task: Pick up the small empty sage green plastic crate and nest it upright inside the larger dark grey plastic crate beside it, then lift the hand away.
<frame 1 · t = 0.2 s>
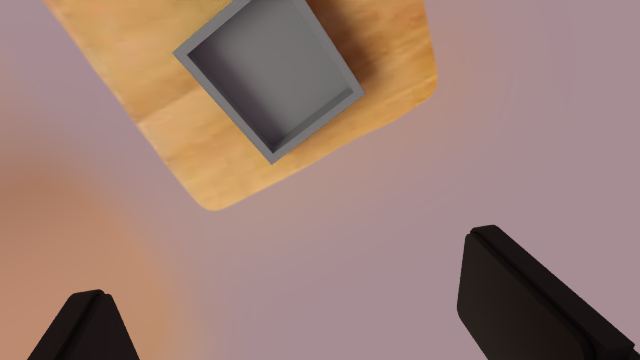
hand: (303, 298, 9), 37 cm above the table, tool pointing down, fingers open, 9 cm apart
big crate: (273, 69, 42), on the table
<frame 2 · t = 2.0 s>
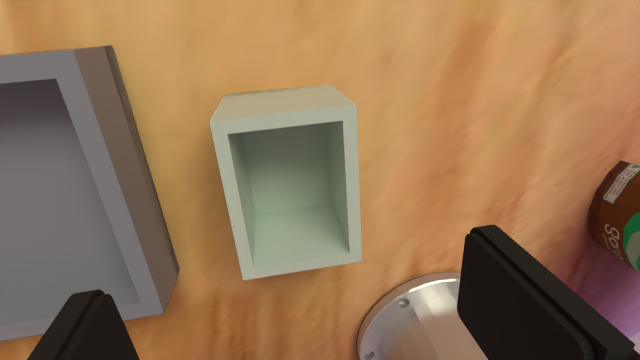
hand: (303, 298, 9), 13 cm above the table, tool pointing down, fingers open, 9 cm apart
food container: (612, 221, 28), on the table
big crate: (2, 191, 20), on the table
small crate: (286, 156, 21), on the table
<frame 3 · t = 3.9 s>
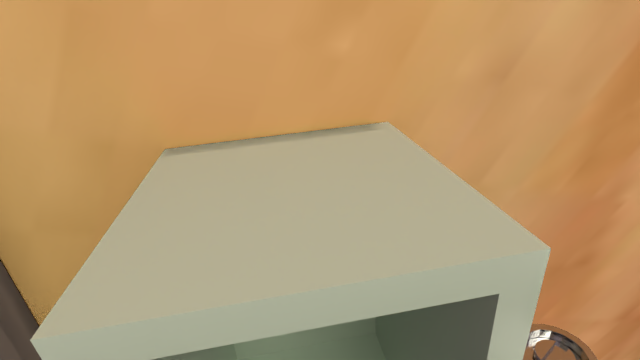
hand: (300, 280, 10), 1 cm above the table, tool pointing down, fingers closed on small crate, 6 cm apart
small crate: (296, 255, 11), on the table, touching gripper
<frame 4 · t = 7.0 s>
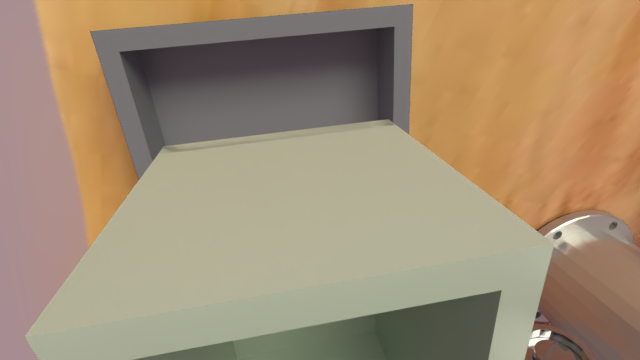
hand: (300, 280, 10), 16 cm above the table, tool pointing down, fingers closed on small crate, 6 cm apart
big crate: (274, 129, 24), on the table
small crate: (295, 253, 11), point 14 cm above the table, touching gripper
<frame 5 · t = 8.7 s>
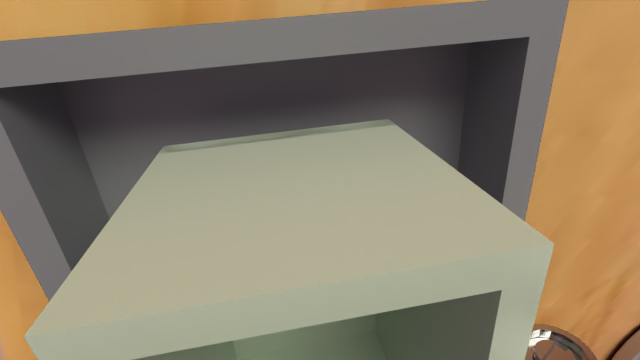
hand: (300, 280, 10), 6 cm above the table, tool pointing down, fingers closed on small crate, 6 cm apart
big crate: (292, 196, 15), on the table
small crate: (295, 253, 11), point 4 cm above the table, touching gripper
when the fingers open (3 cm above the table, at t = 10.0 s): small crate drops 1 cm, resting on big crate.
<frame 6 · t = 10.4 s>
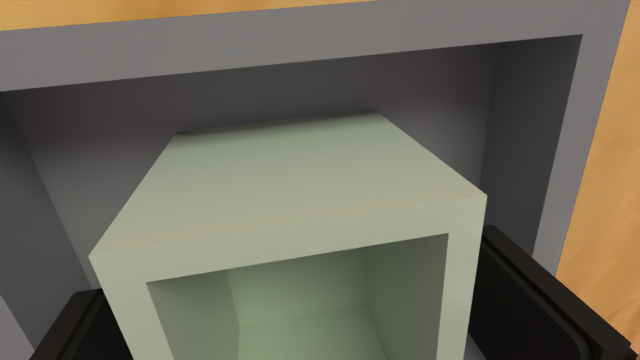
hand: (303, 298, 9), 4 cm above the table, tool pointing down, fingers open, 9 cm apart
big crate: (289, 217, 13), on the table
small crate: (292, 230, 12), point 1 cm above the table, touching big crate
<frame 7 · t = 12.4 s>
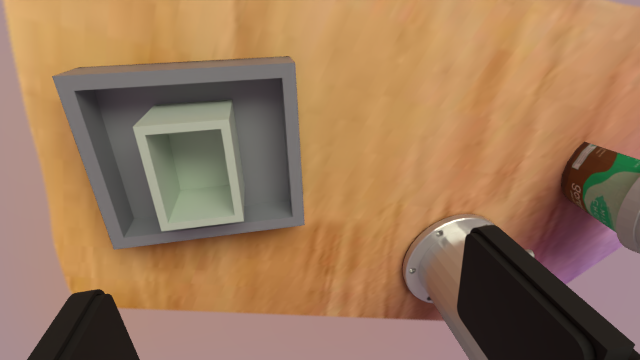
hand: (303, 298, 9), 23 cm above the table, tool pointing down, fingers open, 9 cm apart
food container: (576, 184, 41), on the table
big crate: (204, 145, 31), on the table
small crate: (202, 148, 30), point 1 cm above the table, touching big crate
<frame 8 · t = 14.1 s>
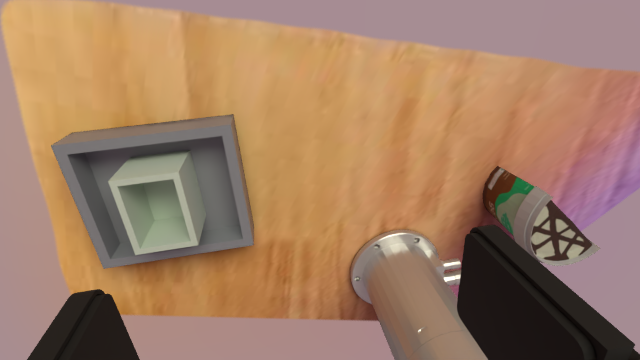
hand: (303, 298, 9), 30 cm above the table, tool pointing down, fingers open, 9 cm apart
food container: (498, 200, 48), on the table
big crate: (172, 184, 39), on the table
small crate: (170, 187, 38), point 1 cm above the table, touching big crate
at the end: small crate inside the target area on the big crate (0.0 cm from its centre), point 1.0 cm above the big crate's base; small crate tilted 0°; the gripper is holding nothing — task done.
